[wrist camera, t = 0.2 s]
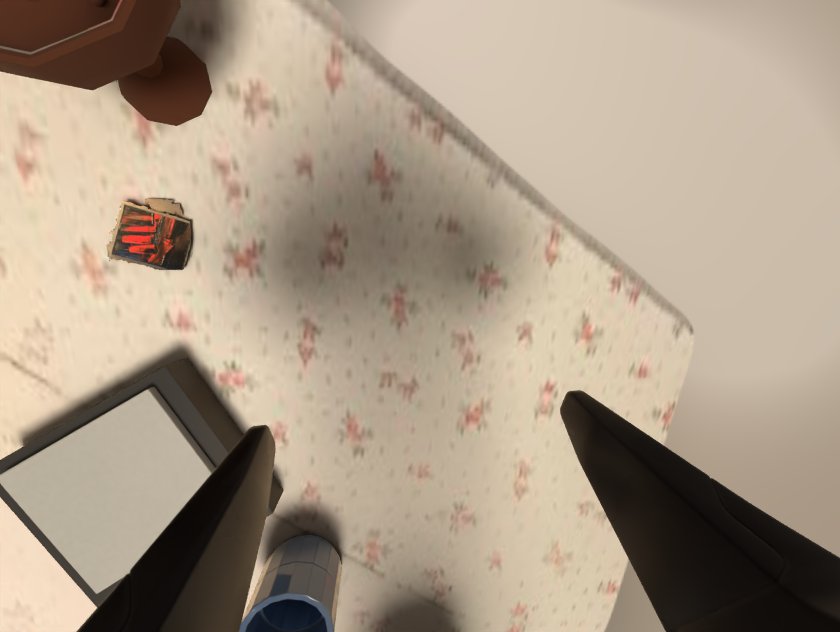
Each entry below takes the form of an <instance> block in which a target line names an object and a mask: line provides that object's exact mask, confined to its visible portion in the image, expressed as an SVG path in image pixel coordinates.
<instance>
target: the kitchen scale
mask: <svg viewBox="0 0 840 632" xmlns="http://www.w3.org/2000/svg"><path fill="white" fill-rule="evenodd" d="M242 437H243V434H242V433H241V432H240V430H239V429H238V427H237V426H236V425H235V423H234V422H233V420H232V419H231V418H230V416H229V415H228V414H227V412H226V411H225V409H224V408H223V407H222V405H221V404H220V402H219V401H218V400H217V398H216V397H215V396H214V394H213V393H212V391H211V390H210V389H209V387H208V386H207V384H206V383H205V382H204V380H203V379H202V378H201V376H200V375H199V373H198V372H197V371H196V369H195V368H194V366H193V365H192V364H191V362H190V361H189V360H188V358H185V359H182V360H179V361H176V362H173V363H170V364H167V365H164V366H163V367H161V368H159V369H157V370H156V371H154V372H152V373H150V374H149V375H147V376H145V377H143V378H142V379H140V380H138V381H137V382H135V383H133V384H131V385H130V386H128V387H126V388H124V389H123V390H121V391H119V392H117V393H116V394H114V395H112V396H111V397H109V398H107V399H105V400H104V401H102V402H100V403H98V404H97V405H95V406H93V407H91V408H90V409H88V410H86V411H84V412H83V413H81V414H79V415H78V416H76V417H74V418H72V419H71V420H69V421H67V422H65V423H64V424H62V425H60V426H58V427H57V428H55V429H53V430H52V431H50V432H48V433H46V434H45V435H43V436H41V437H39V438H38V439H36V440H34V441H32V442H31V443H29V444H27V445H25V446H24V447H22V448H20V449H19V450H17V451H15V452H13V453H12V454H10V455H8V456H6V457H5V458H3V459H1V460H0V497H1V498H2V499H3V501H4V502H5V503H6V504H7V505H8V506H9V507H10V509H11V510H12V511H13V512H14V513H15V514H16V515H17V517H18V518H19V519H20V520H21V521H22V522H23V523H24V525H25V526H26V527H27V528H28V529H29V530H30V531H31V533H32V534H33V535H34V536H35V537H36V538H37V539H38V541H39V542H40V543H41V544H42V545H43V546H44V547H45V548H46V550H47V551H48V552H49V553H50V554H51V555H52V556H53V558H54V559H55V560H56V561H57V562H58V563H59V564H60V566H61V567H62V568H63V569H64V570H65V571H66V572H67V574H68V575H69V576H70V577H71V578H72V579H73V580H74V582H75V583H76V584H77V585H78V586H79V587H80V588H81V589H82V591H83V592H84V593H85V594H86V595H87V596H88V597H89V599H90V600H91V601H92V602H93V603H94V604H95V605H96V607H97V608H98V607H99V606H100V604H101V603H102V602H103V601H104V600H105V599H106V597H107V596H108V595H109V594H110V593H111V592H112V590H113V589H114V588H115V587H116V586H117V585H118V583H119V582H120V581H121V580H122V579H123V577H124V576H125V575H126V574H128V573H130V569H131V568H132V567H133V566H134V565H135V563H136V562H137V561H138V560H139V559H140V557H141V556H142V555H143V554H144V553H145V552H146V550H147V549H148V548H149V547H150V546H151V544H152V543H153V542H154V541H155V540H156V539H157V537H158V536H159V535H160V534H161V533H162V531H163V530H164V529H165V528H166V527H167V526H168V524H169V523H170V522H171V521H172V520H173V518H174V517H175V516H176V515H177V514H178V512H179V511H180V510H181V509H182V508H183V507H184V505H185V504H186V503H187V502H188V501H189V499H190V498H191V497H192V496H193V495H194V494H195V492H196V491H197V490H198V489H199V488H200V486H201V485H202V484H203V483H204V482H205V480H206V479H207V478H208V477H209V476H210V475H211V473H212V472H213V471H214V470H215V469H216V467H217V466H218V465H219V464H220V463H221V462H222V460H223V459H224V458H225V457H226V456H227V454H228V453H229V452H230V451H231V450H232V449H233V447H234V446H235V445H236V444H237V443H238V441H239V440H240V439H241V438H242ZM282 493H283V490H282V488H281V487H280V486H279V484H278V483H277V481H276V480H275V479H274V477H273V476H272V482H271V490H270V498H269V505H268V510H267V515H266V517H267V516H269V515H270V514H272V513H273V512H274V510H275V508H276V506H277V504H278V501H279V499H280V497H281V495H282Z"/></svg>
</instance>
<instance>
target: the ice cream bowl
mask: <svg viewBox="0 0 840 632" xmlns="http://www.w3.org/2000/svg"><path fill="white" fill-rule="evenodd" d="M180 7H181V6H180V0H0V71H1V72H5V73H10V74H15V75H19V76H24V77H29V78H34V79H39V80H44V81H49V82H54V83H59V84H64V85H69V86H74V87H79V88H84V89H89V90H94V89H97V88H99V87H101V86H104V85H106V84H108V83H111V82H113V81H115V80H118V83H119V87H120V91H121V94H122V95H123V97H124V98H125V100H126V101H128V102H129V103H130V104H131V105H132V106H133V107H134V108H135V109H136V110H137V111H138V112H140V113H141V114H142V115H143V116H144V117H145V118H146V119H147V120H149V121H154V122H160V123H165V124H170V125H175V126H177V125H180V124H182V123H184V122H186V121H188V120H191V119H193V118H195V117H197V116H199V115H201V114H202V111H203V109H204V107H205V105H206V103H207V101H208V99H209V97H210V94H211V92H212V90H211V86H210V81H209V77H208V73H207V68H206V64H205V63H203V62H202V61H201V60H200V59H199V58H198V57H197V56H196V55H195V54H194V53H193V52H192V51H191V50H190V49H189V48H188V47H187V46H186V45H185V44H184V43H183V42H181V41H180V40H178V39H175V38H171V37H167V35H168V32H169V30H170V28H171V26H172V24H173V22H174V20H175V18H176V15H177V13H178V11H179V9H180Z"/></svg>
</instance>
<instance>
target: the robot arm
mask: <svg viewBox="0 0 840 632" xmlns="http://www.w3.org/2000/svg"><path fill="white" fill-rule="evenodd" d="M560 413H561V417H562V419H563V422H564V424H565V427H566V429H567V432H568V435H569V437H570V440H571V442H572V445H573V447H574V450H575V452H576V455H577V457H578V460H579V462H580V464H581V466H582V468H583V470H584V472H585V474H586V476H587V478H588V480H589V482H590V484H591V486H592V488H593V490H594V492H595V494H596V496H597V497H598V499H599V501H600V503H601V505H602V507H603V509H604V511H605V513H606V515H607V517H608V519H609V521H610V523H611V525H612V527H613V529H614V531H615V533H616V535H617V537H618V539H619V541H620V543H621V545H622V547H623V548H624V550H625V552H626V554H627V556H628V558H629V560H630V562H631V564H632V566H633V568H634V570H635V572H636V574H637V576H638V578H639V580H640V582H641V584H642V586H643V588H644V590H645V592H646V593H647V595H648V597H649V599H650V601H651V603H652V605H653V607H654V609H655V611H656V613H657V615H658V617H659V619H660V621H661V623H662V625H663V627H664V629H665V631H666V632H840V558H839V557H837V556H836V555H834V554H832V553H831V552H829V551H827V550H826V549H824V548H822V547H821V546H819V545H817V544H816V543H814V542H812V541H811V540H809V539H807V538H806V537H804V536H802V535H801V534H799V533H797V532H796V531H794V530H793V529H791V528H789V527H788V526H786V525H784V524H782V523H781V522H779V521H778V520H776V519H774V518H773V517H771V516H770V515H768V514H766V513H765V512H763V511H761V510H760V509H758V508H757V507H755V506H754V505H752V504H750V503H749V502H747V501H746V500H744V499H743V498H741V497H740V496H738V495H737V494H735V493H734V492H732V491H730V490H729V489H728V488H726V487H725V486H723V485H721V484H720V483H719V482H717V481H716V480H714V479H712V478H710V477H709V476H708V475H707V474H705V473H704V472H702V471H701V470H699V469H698V468H696V467H694V466H693V465H692V464H690V463H689V462H687V461H686V460H684V459H683V458H681V457H680V456H678V455H677V454H675V453H674V452H672V451H671V450H669V449H668V448H666V447H665V446H663V445H662V444H661V443H659V442H658V441H656V440H655V439H653V438H652V437H650V436H649V435H647V434H646V433H644V432H643V431H641V430H640V429H638V428H637V427H635V426H634V425H632V424H631V423H629V422H628V421H626V420H625V419H623V418H622V417H620V416H619V415H617V414H616V413H614V412H613V411H611V410H610V409H609V408H607V407H606V406H604V405H603V404H601V403H600V402H598V401H597V400H595V399H594V398H592V397H591V396H589V395H588V394H586V393H585V392H583V391H580V390H577V391H569V392H568V393H567V394H566V396H565V398H564V400H563V403H562V405H561V408H560ZM274 457H275V441H274V439H273V436H272V434H271V431H270V429H269V427H268V426H267V425H261V426H253V427H251V428H250V429H249V430H248V431H247V432H246V433H245V434H244V435H243V437H242V438H241V439H240V440H239V441H238V443H237V444H236V445H235V446H234V447H233V449H232V450H231V451H230V452H229V453H228V454H227V456H226V457H225V458H224V459H223V460H222V462H221V463H220V464H219V465H218V466H217V467H216V469H215V470H214V471H213V472H212V473H211V475H210V476H209V477H208V478H207V479H206V480H205V482H204V483H203V484H202V485H201V486H200V488H199V489H198V490H197V491H196V492H195V494H194V495H193V496H192V497H191V498H190V499H189V501H188V502H187V503H186V504H185V505H184V507H183V508H182V509H181V510H180V511H179V512H178V514H177V515H176V516H175V517H174V518H173V520H172V521H171V522H170V523H169V524H168V526H167V527H166V528H165V529H164V530H163V531H162V533H161V534H160V535H159V536H158V537H157V539H156V540H155V541H154V542H153V543H152V544H151V546H150V547H149V548H148V549H147V550H146V552H145V553H144V554H143V555H142V556H141V557H140V559H139V560H138V561H137V562H136V563H135V565H134V566H133V567H132V568H131V569H130V573H128V574H126V575H125V576H124V577H123V579H122V580H121V581H120V582H119V583H118V585H117V586H116V587H115V588H114V589H113V590H112V592H111V593H110V594H109V595H108V596H107V597H106V599H105V600H104V601H103V602H102V603H101V604H100V606H99V607H98V608H97V609H96V610H95V611H94V612H93V614H92V615H91V616H90V617H89V618H88V619H87V620H86V622H85V623H84V624H83V625H82V626H81V627H80V628H79V630H78V631H77V632H239V630H240V626H241V622H242V618H243V613H244V609H245V605H246V600H247V596H248V592H249V588H250V583H251V579H252V575H253V571H254V566H255V562H256V558H257V554H258V549H259V545H260V541H261V536H262V532H263V528H264V524H265V519H266V515H267V510H268V505H269V498H270V490H271V482H272V474H273V465H274Z"/></svg>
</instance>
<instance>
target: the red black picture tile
mask: <svg viewBox="0 0 840 632" xmlns="http://www.w3.org/2000/svg"><path fill="white" fill-rule="evenodd" d="M171 202H173V200H169V199H168V200H167V199H165V200H163V199H145V203H147V204H148V203H150V208H153V209H148V207H145V206H136V205H134V204H133V203H131V202H125V201H122V205H121V206H120V208H121V209H120V212H119V215H118V218H117V219H116V221H117V224H116V226H115V229H113V231H110V232H109V233H110V234H112V235H113V237H112V243H111V242H110V243H109V244H108V245H107V252H108V257H110V258H111V257H112V258H113V259H116V260H121V259H122V260H123V261H127V262H128V263H136V264H141V265H146V266H147V267H148V266H150V267H152V268H154V269H159V270H183V269H184V265H185V264H186V262H187V261H186V260H187V256H188V252H189V251H190V244H191V230H190V221H187V220H184V219H182V218H177V216H170V214H169V213H172V214H175V213H177V214H180V215H179V216H182V210H181V209H180V205H179V204H172V203H171ZM161 212H162V213H161ZM163 212H167V213H166V214H164V213H163ZM191 256H192V255H191ZM110 260H111V259H110ZM110 260H109V261H110Z"/></svg>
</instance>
